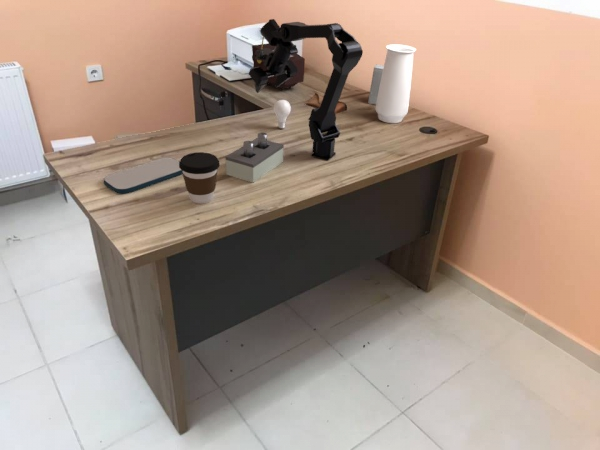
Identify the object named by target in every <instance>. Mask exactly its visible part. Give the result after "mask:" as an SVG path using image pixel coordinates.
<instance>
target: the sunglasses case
mask: <svg viewBox="0 0 600 450" xmlns="http://www.w3.org/2000/svg"><path fill="white" fill-rule="evenodd" d="M323 97H324V95H321V94H319V93H317V92H314V94H313V95H312V96H311V97H310V98H309V99H308V100H307V101H306V102H305V103H304V105H305V104H306V106H309V107H313V108H314V109H316V108H319V107H320V105H321V103H322V100H323ZM347 111H348V106H347V103H345V102H343V101H340V100H339V101H338V103H337V106H336V109H335V115H336V116H337V115H338V114H341V113H343V112H347Z"/></svg>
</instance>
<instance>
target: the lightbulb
mask: <svg viewBox="0 0 600 450" xmlns="http://www.w3.org/2000/svg"><path fill="white" fill-rule="evenodd" d="M273 111H274V114H275V115H276V117H277V118H276V119H277V123H278V124H277V127H278V128H279V129H282V130H283V129H285V128H286V121H287V117H288V116H289V115H290V113H291V111H292V107H291V103H290V102H289V101H288V100H286V99H279V100H277V101H276V102H275V103H274V104H273Z"/></svg>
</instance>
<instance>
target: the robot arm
mask: <svg viewBox="0 0 600 450" xmlns="http://www.w3.org/2000/svg"><path fill="white" fill-rule="evenodd" d="M260 34H261V36H262V38H263V37H264V39H265V40H266V42H267V44H268V43H269V44H270V45H271V46H276V47H275V49H274V51H272V50H271V49H269V48H264V49H259V50H256V52H255V58H256V59H257V60H261V61H263V62H264V66H265V67H267V70H266V71H264V70H263V69H262V68H261V67H255V68H253V67H252V68H249V71H248V76H250V78H251V79H252V80H253V81H254V83H255V84H254V85H255V86H254V87H255V92H256V93H257V94H258V93H260V91H262V89H264V87H265V86H267V83H266V82H267V81H268V77H271V76H277V79H276V82H275V85H274V87H275V88H279V87H278V86H280V85H281V84H282V83H284V82H285V81H287V80H288V79H290V78H292V77H293V76H295V75H296V74H297V72H298V69H297V67H296V66H295V65H294V63H293V62H292V61H291V60H290V59H289V58H290V55H291V54H296V53H297V54H298V53H299V50H298V48H297V45H296V44H294V43H293V42H297V41H302V40H305V39H325V41H326V43H327V48H328V50H329V52H330V53H331V54H332V57H331V62H332V66H333V69H332V71H331V75H330V77H329V79H328V83H327V86H326V89H325V92H324V95H323V96H324V97H323V100H322V103H321V105H320V107H319V108H313V109H311V111H310V116H309V118H307V120H308V128H309V133H310V139H311V140H312V150H311V151H312V153H311V157H312V158H313V157H314V158H317V159H321V160H324V161H330V160H331V159H332V158H333V157H334V156H336V154H337V153H336V152H335V145H336V139H337V138H339V137H340V135H341V131H340V129H339V128H338V125H337V124H336V120H337V114H336V115H335V109H336V106H337V103H338V101H340V99H341V95H342V93H343V89H344V87H345V84H346V82H347V79H348V77H349V74H350V72H351V71H353V69H354V68H355V67H357V65H358V64H359V62H360V60H361V58H362V57H363V49H362V46H361V43H359V41H358V40H357V39H356V38H355V37H354V36H353V35H352V34H351V33H349V32H348V31H346V30H345V29H344V28H343V27H342V25H341V24H340V23H337V22H335V23H328V24H306V23H304V22H300V21H293V22H285V23H281V25H279V24H278V23H277V21H276V19H274V18H271V19H268V22H266V23H264V24H263V26H261V29H260ZM336 39H337V40H336ZM338 41H339V42H338Z"/></svg>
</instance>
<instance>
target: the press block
mask: <svg viewBox="0 0 600 450" xmlns="http://www.w3.org/2000/svg"><path fill="white" fill-rule="evenodd" d="M251 141H252V142H253V157H252V158H247V157H244V151H243V146H241V147H240V148H238V149H235V150H234V151H232V152H231V153H229V154H227V155H226V156H225V175H227V176H229V177H234V178H237V179H239V180H243V181H246V182H249V183H255V182H256V181H258V180H260V179H261V178H262V177H264V176H265V175H266V174H267V173H270V172H271V171H272V170H273V169H275V168H276V167H278V166H279V165H281V164H282V163H283V162H284V147H285V145H284V144H282V143H280V142H279V143H278V142H274V141H272V140H268V139H267V148H266V149H261V148H258V137H256V138H255V139H252V140H251Z"/></svg>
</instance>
